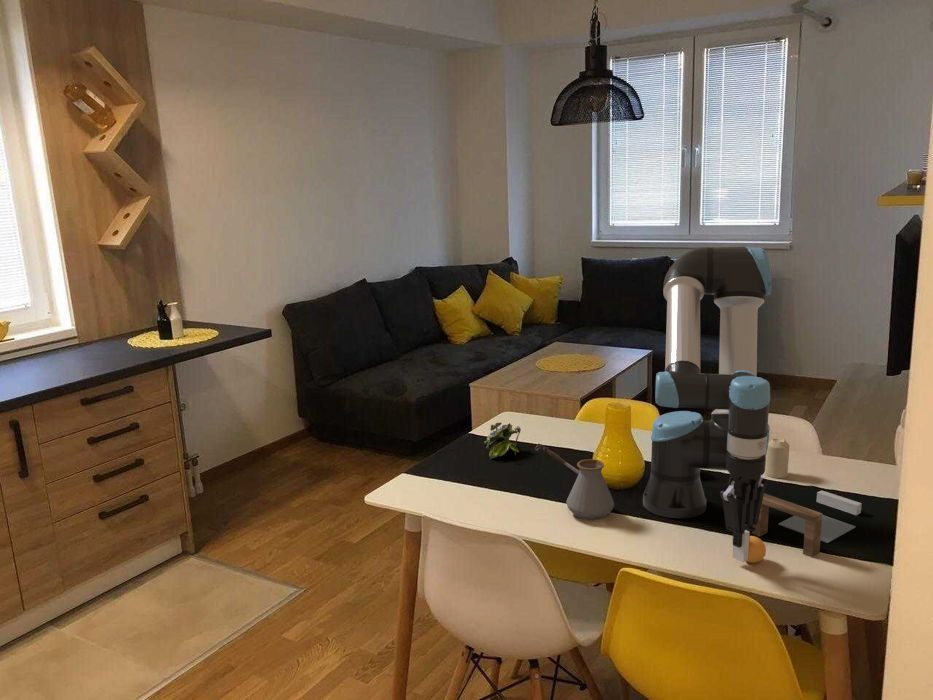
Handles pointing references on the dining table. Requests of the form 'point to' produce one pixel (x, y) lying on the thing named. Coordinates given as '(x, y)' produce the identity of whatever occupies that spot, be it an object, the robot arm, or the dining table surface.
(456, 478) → the dining table surface
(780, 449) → the candle
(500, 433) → the green leafy plant
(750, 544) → the ball
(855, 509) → the wall
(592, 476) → the coffee pot
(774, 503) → the bridge
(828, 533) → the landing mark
